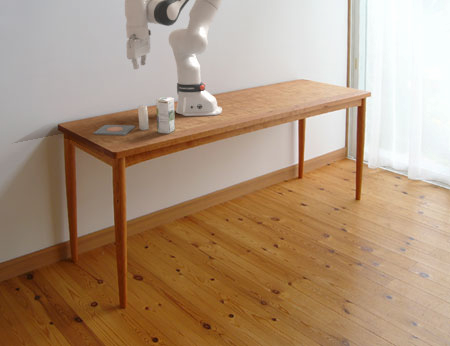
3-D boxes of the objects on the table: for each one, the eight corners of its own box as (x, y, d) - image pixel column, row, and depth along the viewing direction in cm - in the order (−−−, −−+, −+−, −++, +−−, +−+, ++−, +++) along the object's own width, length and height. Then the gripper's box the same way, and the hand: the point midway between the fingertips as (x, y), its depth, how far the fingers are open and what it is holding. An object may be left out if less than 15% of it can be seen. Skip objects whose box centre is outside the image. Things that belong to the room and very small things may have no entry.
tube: (149, 127, 241) (148, 105, 238) (147, 130, 238) (145, 107, 234) (141, 127, 242) (139, 105, 239) (138, 130, 238) (136, 107, 235)
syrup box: (163, 129, 239) (161, 96, 234) (175, 130, 237) (174, 97, 232) (157, 132, 234) (155, 99, 229) (169, 134, 232) (167, 100, 227)
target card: (135, 127, 243) (134, 125, 243) (125, 135, 231) (124, 133, 231) (105, 126, 245) (105, 124, 245) (93, 134, 233) (93, 132, 233)
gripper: (136, 36, 216) (139, 71, 220) (152, 30, 234) (153, 63, 239) (121, 36, 217) (124, 71, 221) (137, 30, 235) (140, 63, 240)
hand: (139, 66), depth 231 cm, fingers open, 8 cm apart
